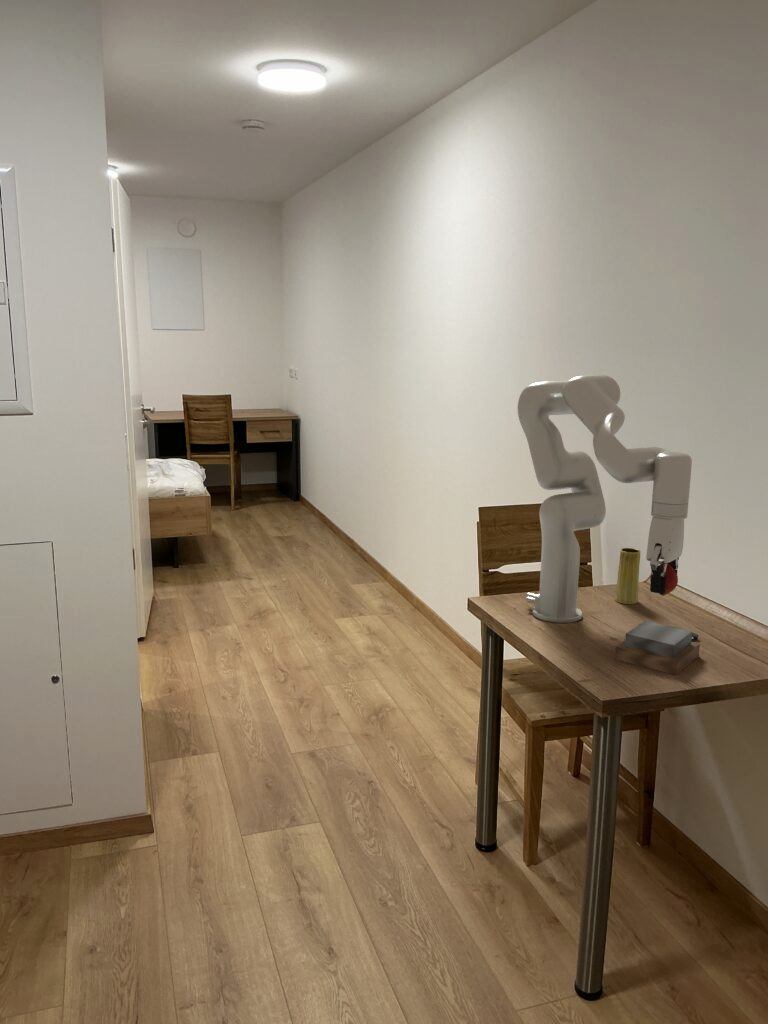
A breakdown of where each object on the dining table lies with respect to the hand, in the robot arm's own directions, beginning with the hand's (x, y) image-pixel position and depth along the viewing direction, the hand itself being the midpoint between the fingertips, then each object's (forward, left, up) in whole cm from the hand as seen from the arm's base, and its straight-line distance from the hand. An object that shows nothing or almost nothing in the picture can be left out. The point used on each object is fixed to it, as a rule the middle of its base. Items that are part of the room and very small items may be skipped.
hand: (663, 588), depth 193 cm
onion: (0, 0, -2) cm, 2 cm away
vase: (-22, +35, -17) cm, 45 cm away
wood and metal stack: (0, 0, -16) cm, 16 cm away
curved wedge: (-3, +17, -17) cm, 24 cm away
